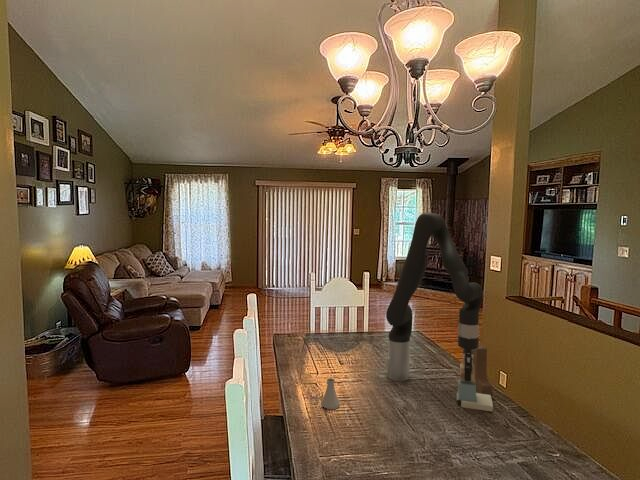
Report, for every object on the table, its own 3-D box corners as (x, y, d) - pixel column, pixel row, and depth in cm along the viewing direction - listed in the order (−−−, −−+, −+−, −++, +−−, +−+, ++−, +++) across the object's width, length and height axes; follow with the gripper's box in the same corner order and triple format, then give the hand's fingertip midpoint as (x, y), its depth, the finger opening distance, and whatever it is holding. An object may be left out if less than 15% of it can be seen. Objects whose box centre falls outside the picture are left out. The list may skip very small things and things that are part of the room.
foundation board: (456, 406, 151) (456, 401, 151) (456, 395, 160) (456, 390, 160) (492, 411, 147) (493, 406, 147) (490, 399, 156) (490, 394, 156)
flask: (342, 403, 153) (342, 377, 152) (336, 411, 146) (336, 385, 146) (324, 400, 155) (324, 375, 155) (318, 408, 149) (318, 382, 148)
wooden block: (492, 396, 160) (493, 352, 159) (481, 396, 159) (483, 352, 158) (480, 386, 169) (481, 344, 167) (470, 387, 168) (471, 345, 167)
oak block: (460, 380, 152) (460, 367, 152) (460, 375, 157) (460, 363, 157) (474, 382, 151) (474, 369, 150) (473, 377, 155) (473, 364, 155)
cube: (458, 398, 152) (459, 383, 152) (458, 392, 158) (458, 377, 158) (475, 401, 150) (475, 385, 150) (474, 394, 156) (475, 379, 156)
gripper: (457, 328, 161) (456, 370, 162) (458, 339, 147) (457, 384, 148) (477, 330, 158) (476, 372, 159) (480, 341, 145) (478, 386, 146)
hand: (467, 377), depth 154 cm, fingers closed on oak block, 5 cm apart
